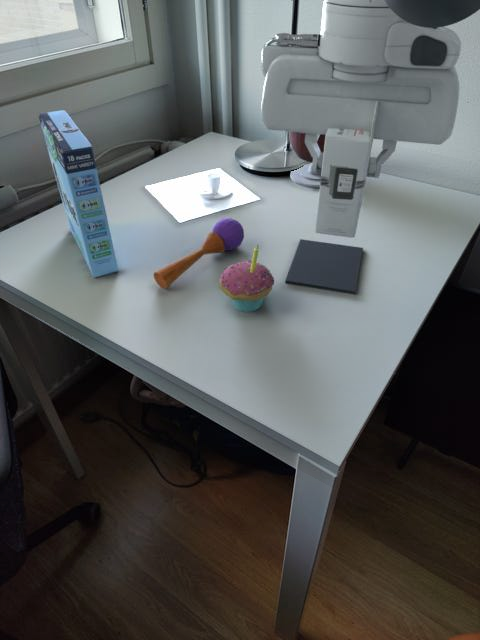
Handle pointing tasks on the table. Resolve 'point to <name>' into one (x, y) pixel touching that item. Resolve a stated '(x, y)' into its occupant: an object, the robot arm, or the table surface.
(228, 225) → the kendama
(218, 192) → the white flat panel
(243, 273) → the cupcake
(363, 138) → the ink box
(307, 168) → the mate gourd
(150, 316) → the table surface
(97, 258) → the gum box
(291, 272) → the slate mat
